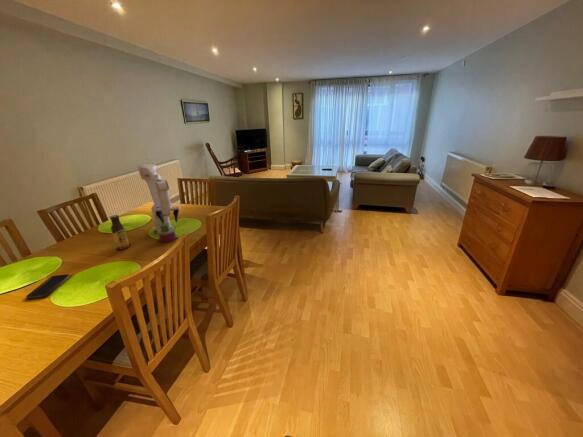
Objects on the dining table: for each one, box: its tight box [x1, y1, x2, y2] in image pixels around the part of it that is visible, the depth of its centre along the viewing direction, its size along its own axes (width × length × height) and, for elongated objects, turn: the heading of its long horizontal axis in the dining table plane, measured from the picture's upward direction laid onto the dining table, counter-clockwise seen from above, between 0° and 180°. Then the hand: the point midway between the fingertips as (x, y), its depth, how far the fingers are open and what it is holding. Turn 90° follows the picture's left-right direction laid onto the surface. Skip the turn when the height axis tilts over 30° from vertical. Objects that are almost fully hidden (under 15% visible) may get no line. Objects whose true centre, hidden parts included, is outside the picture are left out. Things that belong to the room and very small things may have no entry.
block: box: [160, 223, 171, 232], centre depth 146 cm, size 4×4×4 cm
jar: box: [157, 226, 177, 243], centre depth 148 cm, size 10×10×6 cm
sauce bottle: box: [109, 214, 130, 250], centre depth 136 cm, size 6×6×20 cm
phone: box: [25, 274, 70, 300], centre depth 107 cm, size 8×1×15 cm
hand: (170, 222), depth 148 cm, fingers open, 7 cm apart
